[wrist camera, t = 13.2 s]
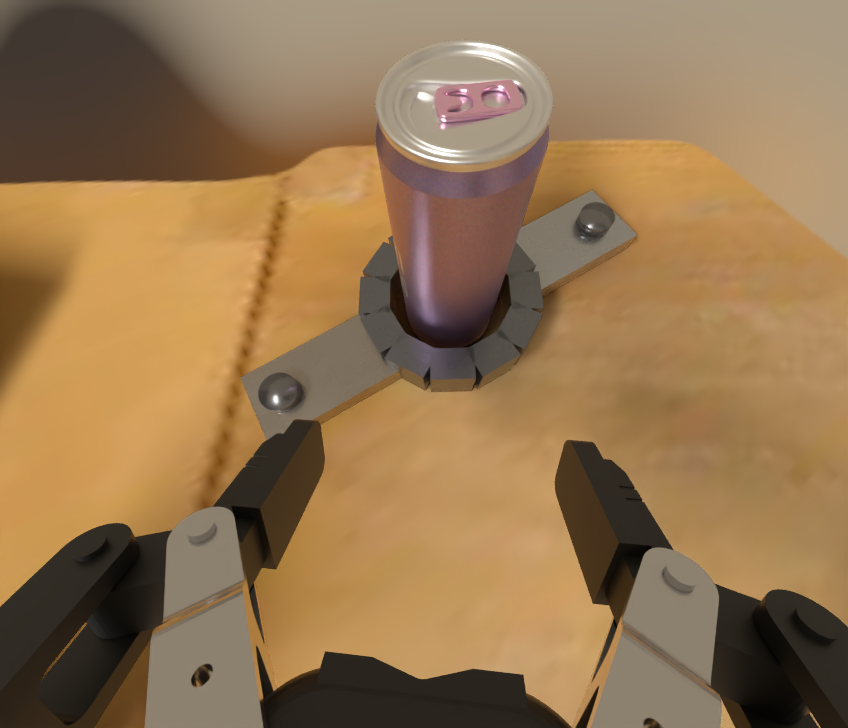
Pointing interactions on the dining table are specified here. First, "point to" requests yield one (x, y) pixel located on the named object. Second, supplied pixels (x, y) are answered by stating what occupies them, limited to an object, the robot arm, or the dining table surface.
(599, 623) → the dining table surface
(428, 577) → the dining table surface
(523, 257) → the pipe clamp bracket
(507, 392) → the dining table surface
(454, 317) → the beverage can
